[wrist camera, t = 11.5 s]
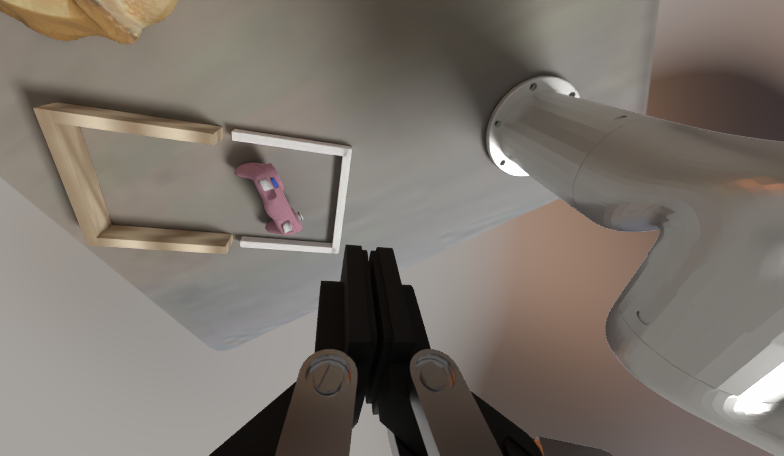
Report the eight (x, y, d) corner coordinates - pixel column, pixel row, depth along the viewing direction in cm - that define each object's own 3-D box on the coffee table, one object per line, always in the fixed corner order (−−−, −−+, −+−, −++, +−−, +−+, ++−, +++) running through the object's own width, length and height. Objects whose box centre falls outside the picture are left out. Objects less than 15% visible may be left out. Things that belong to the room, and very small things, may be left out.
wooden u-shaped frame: (222, 126, 34) (213, 134, 32) (232, 241, 42) (226, 254, 40) (58, 101, 31) (32, 107, 28) (103, 231, 39) (87, 245, 36)
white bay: (351, 146, 37) (352, 149, 36) (338, 249, 45) (338, 253, 44) (234, 128, 34) (231, 131, 33) (242, 241, 42) (240, 246, 41)
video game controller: (296, 216, 43) (313, 234, 38) (266, 230, 42) (280, 251, 36) (266, 151, 38) (281, 162, 33) (229, 165, 36) (240, 179, 31)
